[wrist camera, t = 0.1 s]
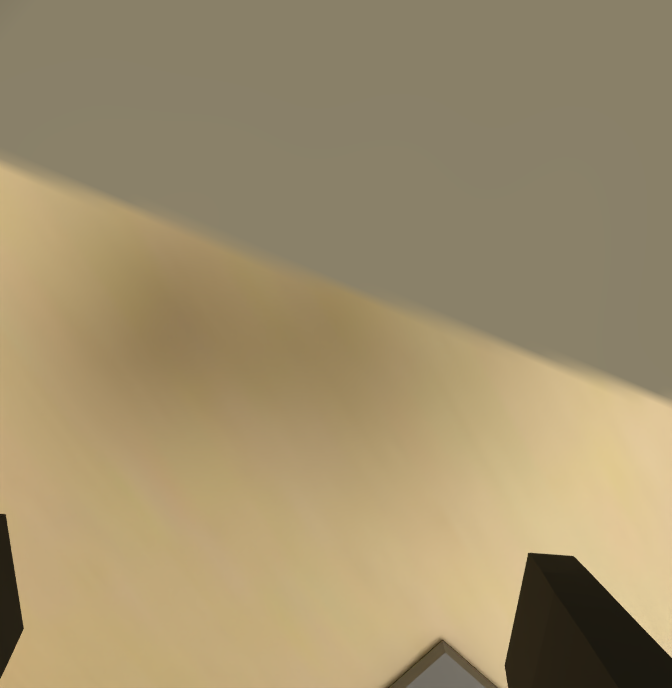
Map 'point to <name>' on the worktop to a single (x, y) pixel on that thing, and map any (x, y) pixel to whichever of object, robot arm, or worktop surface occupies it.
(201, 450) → the worktop surface
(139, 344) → the worktop surface
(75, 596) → the worktop surface
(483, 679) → the mat
